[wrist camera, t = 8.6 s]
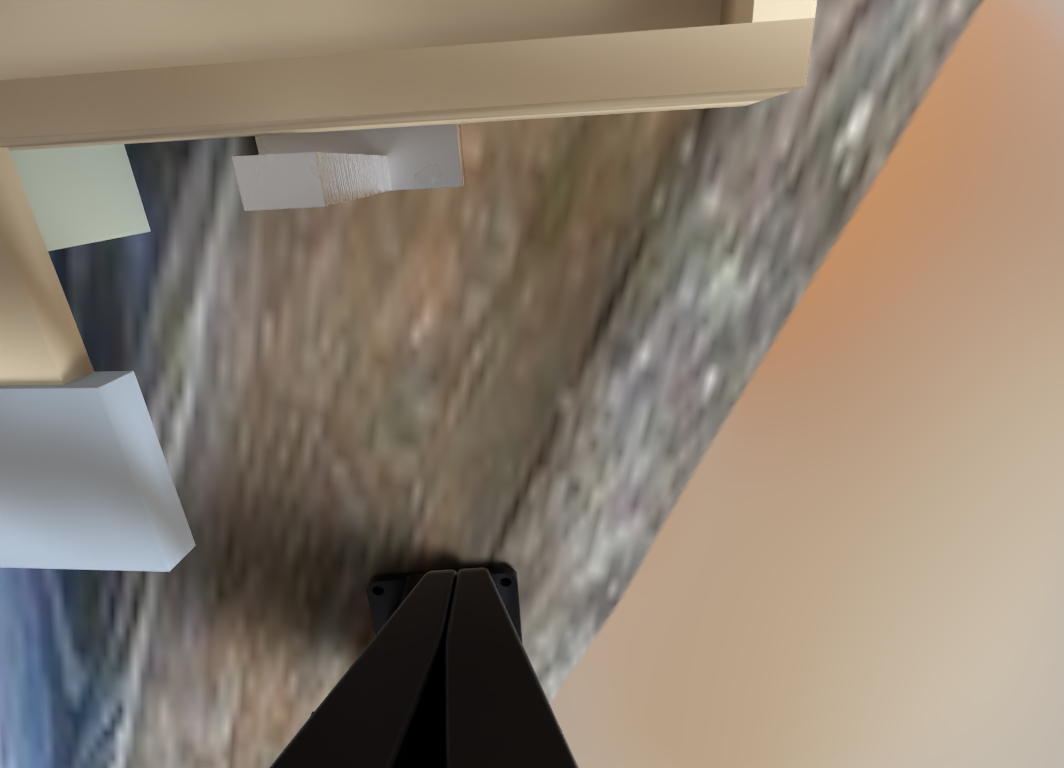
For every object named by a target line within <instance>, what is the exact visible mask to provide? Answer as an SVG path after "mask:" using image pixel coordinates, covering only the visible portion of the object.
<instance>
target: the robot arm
mask: <svg viewBox="0 0 1064 768" xmlns="http://www.w3.org/2000/svg"><path fill="white" fill-rule="evenodd" d="M502 578H509V580H502ZM376 586H380V587H382V589H380V588H377V587H376ZM367 595H368V600H369V604H370V609H371V614H372V618H373V623H374V628H375V632H376V636H375V637H374V638H373V640H372V641H371V642H370V643H369V645H368V646H367V647H366V648H365V650H364V651H363V652H362V653H361V655H360V656H359V657H358V658H357V660H356V661H355V662H354V663H353V665H352V666H351V667H350V668H349V670H348V671H347V672H346V673H345V675H344V676H343V677H342V678H341V680H340V681H339V682H338V683H337V685H336V686H335V687H334V688H333V689H332V691H331V692H330V693H329V694H328V696H327V697H326V698H325V699H324V701H323V702H322V703H321V704H320V706H319V707H318V708H317V709H316V711H315V712H312V714H311V716H310V718H309V719H308V721H307V722H306V723H305V724H304V726H303V727H302V728H301V729H300V731H299V732H298V733H297V734H296V736H295V737H294V738H293V739H292V741H291V742H290V743H289V744H288V746H287V747H286V748H285V749H284V751H283V752H282V753H281V754H280V756H279V757H278V758H277V759H276V760H275V762H274V763H273V764H272V765H271V767H270V768H578V765H577V763H576V761H575V759H574V757H573V754H572V752H571V750H570V748H569V746H568V743H567V741H566V739H565V737H564V735H563V733H562V730H561V728H560V726H559V724H558V722H557V719H556V717H555V715H554V713H553V711H552V708H551V706H550V704H549V702H548V700H547V698H546V695H545V693H544V691H543V689H542V687H541V684H540V682H539V680H538V678H537V676H536V673H535V671H534V669H533V667H532V665H531V663H530V660H529V658H528V656H527V654H526V652H525V649H524V647H523V645H522V633H521V620H520V606H519V593H518V580H517V573H516V571H515V570H514V569H512V568H510V567H494V568H469V569H461V570H438V571H430V572H418V573H403V574H388V575H377V576H374V577H372V578H371V579H370V581H369V583H368V586H367Z"/></svg>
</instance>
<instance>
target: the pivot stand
mask: <svg viewBox="0 0 1064 768" xmlns="http://www.w3.org/2000/svg"><path fill="white" fill-rule="evenodd" d="M255 139H256V144H257V148H258V153H259V155H249V156H231V158H232V162H233V166H234V170H235V174H236V178H237V182H238V187H239V191H240V195H241V199H242V203H243V207H244V211H253V210H272V209H290V208H308V207H326V206H330V205H334V204H338V203H342V202H346V201H350V200H355V199H359V198H363V197H367V196H371V195H375V194H379V193H384V192H388V191H393V190H411V189H430V188H448V187H463V186H465V183H464V172H463V161H462V150H461V139H460V128H459V123H457V124H440V125H424V126H408V127H392V128H375V129H359V130H343V131H327V132H310V133H294V134H278V135H262V136H255Z"/></svg>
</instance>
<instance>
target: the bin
mask: <svg viewBox="0 0 1064 768" xmlns="http://www.w3.org/2000/svg"><path fill="white" fill-rule="evenodd" d="M9 152H10V155H11V157H12V160H13V162H14V165H15V168H16V170H17V173H18V175H19V178H20V181H21V183H22V186H23V188H24V191H25V194H26V196H27V199H28V201H29V204H30V206H31V209H32V212H33V214H34V217H35V219H36V222H37V225H38V227H39V230H40V232H41V235H42V237H43V240H44V243H45V245H46V248H47V250H48V251H52V250H58V249H63V248H68V247H73V246H78V245H83V244H89V243H94V242H99V241H104V240H109V239H115V238H120V237H125V236H130V235H135V234H140V233H146V232H151V230H150V227H149V223H148V220H147V217H146V214H145V211H144V207H143V204H142V201H141V198H140V194H139V191H138V188H137V185H136V182H135V178H134V175H133V172H132V169H131V165H130V162H129V159H128V156H127V153H126V149H125V146H124V144H115V145H99V146H83V147H66V148H50V149H34V150H18V151H9Z"/></svg>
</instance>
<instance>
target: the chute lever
mask: <svg viewBox="0 0 1064 768" xmlns="http://www.w3.org/2000/svg"><path fill="white" fill-rule="evenodd" d="M816 5H817V0H0V567H4V568H42V569H81V570H119V571H157V572H170V571H171V570H172V569H173V568H174V567H175V566H176V565H177V564H178V563H179V562H180V561H181V560H182V559H183V558H184V557H185V556H186V555H187V554H188V553H189V552H190V551H191V550H192V549H193V548H194V547H195V546H196V544H195V542H194V539H193V536H192V533H191V530H190V528H189V525H188V522H187V519H186V516H185V513H184V511H183V508H182V505H181V502H180V499H179V497H178V494H177V491H176V488H175V485H174V483H173V480H172V477H171V474H170V471H169V469H168V466H167V463H166V460H165V457H164V455H163V452H162V449H161V446H160V443H159V441H158V438H157V435H156V432H155V429H154V427H153V424H152V421H151V418H150V415H149V412H148V410H147V407H146V404H145V401H144V398H143V396H142V393H141V390H140V387H139V384H138V382H137V379H136V376H135V373H134V371H101V372H94V369H93V367H92V364H91V362H90V359H89V356H88V354H87V351H86V349H85V346H84V344H83V341H82V338H81V336H80V333H79V331H78V328H77V325H76V323H75V320H74V318H73V315H72V313H71V310H70V307H69V305H68V302H67V300H66V297H65V294H64V292H63V289H62V287H61V284H60V281H59V279H58V276H57V274H56V271H55V269H54V266H53V263H52V261H51V258H50V256H49V253H48V250H47V248H46V245H45V243H44V240H43V237H42V235H41V232H40V230H39V227H38V225H37V222H36V219H35V217H34V214H33V212H32V209H31V206H30V204H29V201H28V199H27V196H26V194H25V191H24V188H23V186H22V183H21V181H20V178H19V175H18V173H17V170H16V168H15V165H14V162H13V160H12V157H11V155H10V152H9V151H18V150H34V149H50V148H66V147H83V146H99V145H115V144H132V143H148V142H164V141H180V140H197V139H213V138H229V137H245V136H262V135H278V134H294V133H310V132H327V131H343V130H359V129H375V128H392V127H408V126H424V125H440V124H457V123H473V122H489V121H505V120H522V119H538V118H554V117H570V116H587V115H603V114H619V113H635V112H652V111H668V110H684V109H700V108H717V107H733V106H747V105H750V104H753V103H756V102H759V101H762V100H765V99H768V98H772V97H775V96H778V95H781V94H784V93H787V92H790V91H793V90H796V89H799V88H802V87H806V84H807V76H808V68H809V60H810V52H811V45H812V37H813V29H814V21H815V13H816Z"/></svg>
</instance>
